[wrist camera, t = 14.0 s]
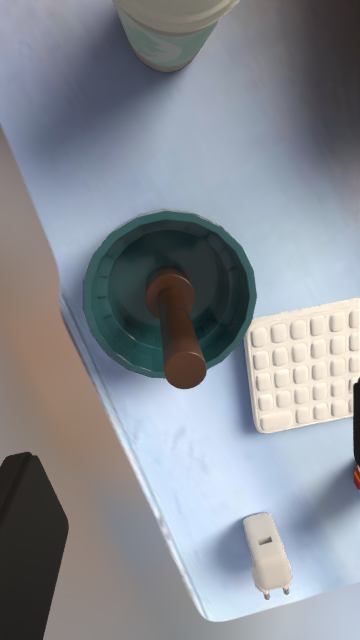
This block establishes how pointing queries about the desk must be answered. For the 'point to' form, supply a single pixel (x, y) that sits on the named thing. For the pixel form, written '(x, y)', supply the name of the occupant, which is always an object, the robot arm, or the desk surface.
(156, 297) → the muddler
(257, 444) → the desk surface
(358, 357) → the calculator
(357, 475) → the soda can
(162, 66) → the coffee cup
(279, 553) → the power adapter
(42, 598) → the robot arm
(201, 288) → the bowl
